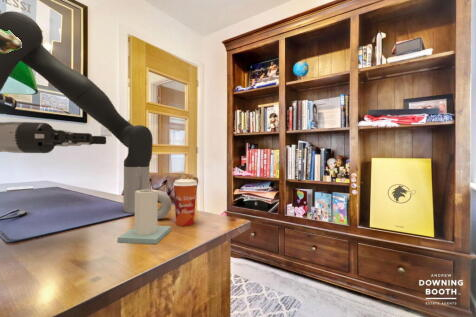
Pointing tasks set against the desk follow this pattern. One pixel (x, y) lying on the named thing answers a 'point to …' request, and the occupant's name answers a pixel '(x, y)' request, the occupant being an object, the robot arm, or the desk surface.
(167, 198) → the donut
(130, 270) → the desk surface
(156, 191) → the white octagonal tube
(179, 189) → the paper cup
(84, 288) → the desk surface
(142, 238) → the peg stand
